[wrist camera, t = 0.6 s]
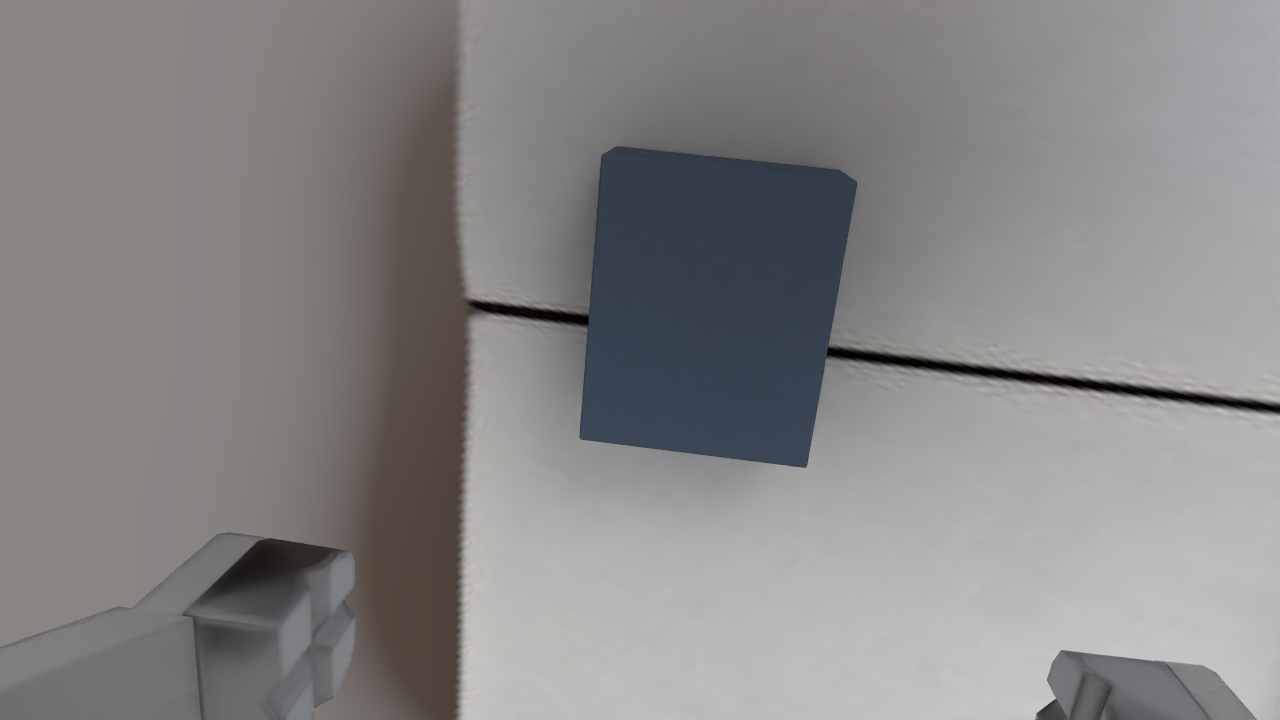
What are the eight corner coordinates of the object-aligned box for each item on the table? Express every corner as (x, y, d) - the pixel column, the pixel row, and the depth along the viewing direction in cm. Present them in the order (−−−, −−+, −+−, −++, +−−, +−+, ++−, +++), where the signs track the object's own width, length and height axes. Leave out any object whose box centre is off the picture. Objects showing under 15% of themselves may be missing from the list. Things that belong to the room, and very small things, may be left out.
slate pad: (615, 145, 24) (601, 153, 21) (841, 170, 24) (858, 181, 21) (593, 402, 26) (578, 440, 24) (797, 427, 26) (806, 468, 23)
